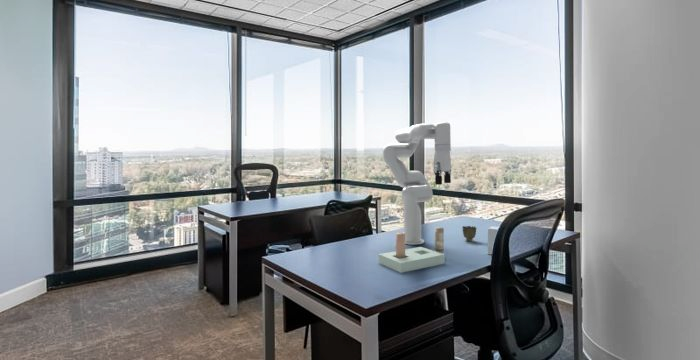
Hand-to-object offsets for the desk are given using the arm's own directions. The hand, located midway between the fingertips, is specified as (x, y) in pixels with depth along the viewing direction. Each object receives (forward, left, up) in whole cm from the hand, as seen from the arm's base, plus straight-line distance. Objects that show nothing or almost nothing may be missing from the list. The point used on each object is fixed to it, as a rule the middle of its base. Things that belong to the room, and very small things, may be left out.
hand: (443, 183), depth 183 cm
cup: (-11, +30, -35) cm, 47 cm away
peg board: (+7, -25, -35) cm, 43 cm away
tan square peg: (+7, -31, -34) cm, 46 cm away
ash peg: (+4, -6, -35) cm, 35 cm away
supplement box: (+14, +22, -35) cm, 43 cm away
